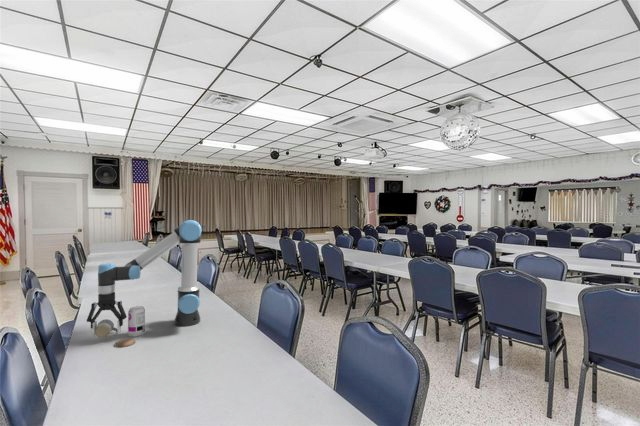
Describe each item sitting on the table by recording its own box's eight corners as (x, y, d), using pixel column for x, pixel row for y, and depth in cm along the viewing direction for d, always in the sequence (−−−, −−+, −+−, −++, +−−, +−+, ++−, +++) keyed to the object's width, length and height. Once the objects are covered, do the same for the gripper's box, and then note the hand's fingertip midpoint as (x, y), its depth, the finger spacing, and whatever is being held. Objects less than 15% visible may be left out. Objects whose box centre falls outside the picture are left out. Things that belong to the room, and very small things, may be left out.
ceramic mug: (93, 339, 164) (94, 324, 164) (97, 334, 171) (97, 320, 171) (117, 336, 168) (118, 322, 168) (120, 331, 176) (120, 317, 176)
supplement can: (127, 338, 173) (127, 310, 173) (128, 333, 180) (129, 306, 180) (144, 335, 177) (144, 308, 177) (145, 330, 184) (145, 305, 184)
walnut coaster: (138, 339, 171) (138, 337, 171) (131, 346, 162) (131, 344, 162) (119, 341, 169) (119, 339, 169) (112, 348, 160) (112, 346, 160)
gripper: (133, 289, 176) (133, 328, 176) (85, 292, 171) (86, 332, 171) (128, 293, 169) (128, 333, 169) (78, 295, 164) (78, 337, 164)
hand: (107, 333), depth 170 cm, fingers closed on ceramic mug, 11 cm apart
